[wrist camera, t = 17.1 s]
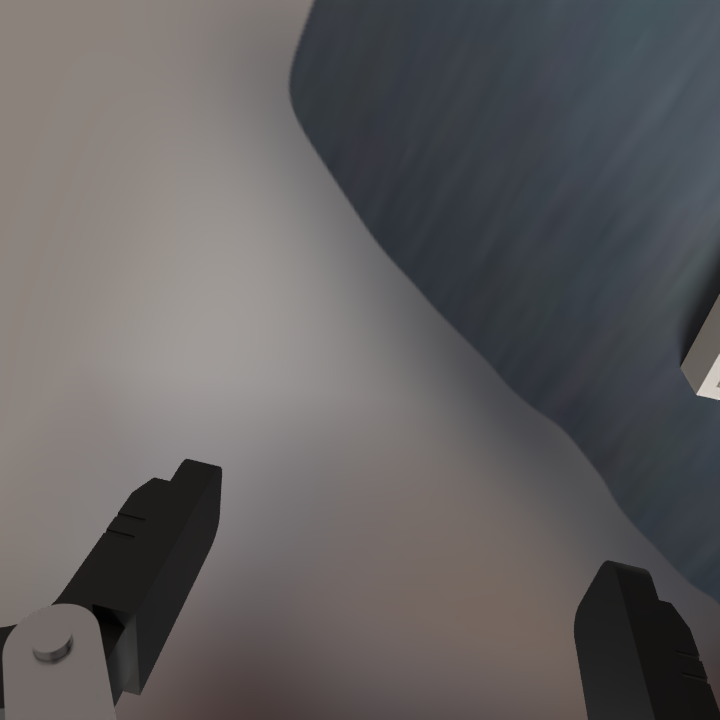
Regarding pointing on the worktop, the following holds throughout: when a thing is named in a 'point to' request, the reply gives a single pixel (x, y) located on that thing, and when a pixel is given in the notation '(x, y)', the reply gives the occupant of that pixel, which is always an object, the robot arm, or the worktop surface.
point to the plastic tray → (705, 357)
